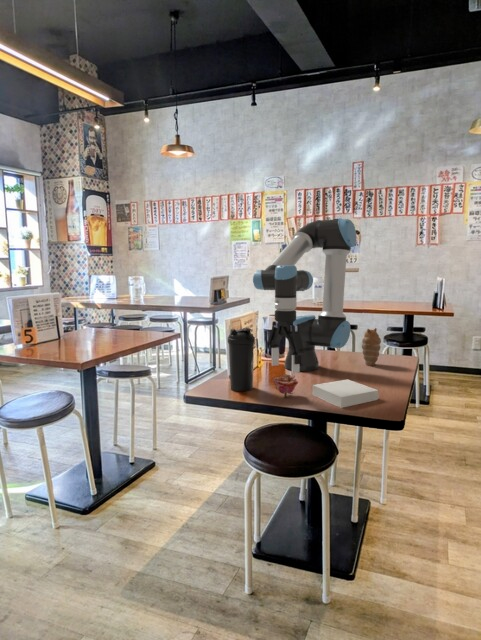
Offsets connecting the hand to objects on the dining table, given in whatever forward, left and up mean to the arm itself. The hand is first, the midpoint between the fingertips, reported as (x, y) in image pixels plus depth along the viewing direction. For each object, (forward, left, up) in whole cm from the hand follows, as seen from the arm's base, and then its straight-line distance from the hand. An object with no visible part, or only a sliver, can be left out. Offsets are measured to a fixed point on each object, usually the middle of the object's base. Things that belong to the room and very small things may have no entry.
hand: (284, 369), depth 160 cm
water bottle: (-17, -9, -10) cm, 22 cm away
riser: (+12, +17, -10) cm, 23 cm away
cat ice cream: (-18, +56, -10) cm, 60 cm away
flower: (0, 0, -10) cm, 10 cm away
